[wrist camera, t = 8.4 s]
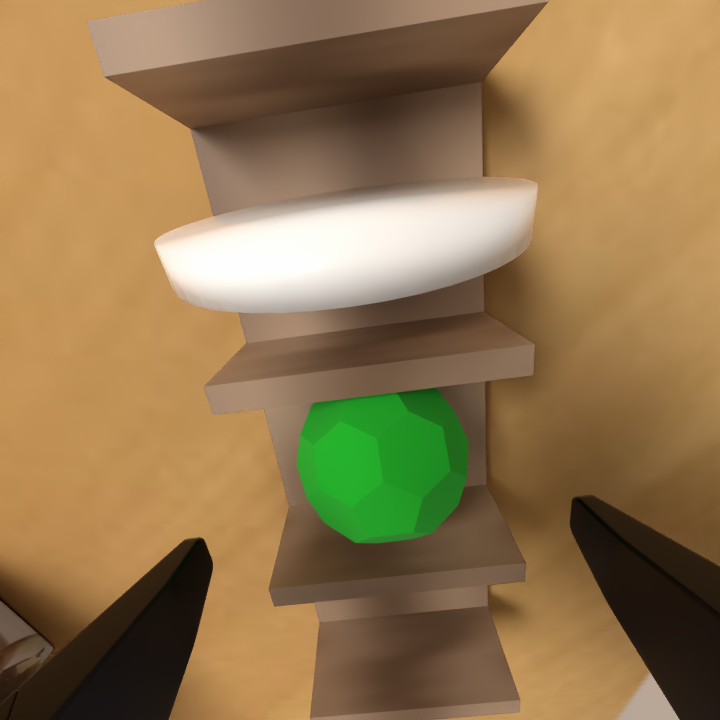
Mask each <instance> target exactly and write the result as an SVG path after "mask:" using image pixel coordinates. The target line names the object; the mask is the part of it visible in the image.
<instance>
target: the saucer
mask: <svg viewBox="0 0 720 720" xmlns="http://www.w3.org/2000/svg"><path fill="white" fill-rule="evenodd" d="M537 192H538V184H537V183H536V182H534V181H531V180H528V179H522V178H514V177H459V178H443V179H430V180H419V181H409V182H399V183H391V184H382V185H374V186H367V187H360V188H353V189H346V190H339V191H333V192H327V193H321V194H315V195H309V196H303V197H298V198H292V199H287V200H282V201H277V202H272V203H267V204H263V205H258V206H253V207H249V208H245V209H240V210H236V211H232V212H228V213H224V214H220V215H217V216H213V217H209V218H206V219H203V220H199V221H196V222H193V223H190V224H187V225H184V226H181V227H179V228H176V229H174V230H171V231H169V232H167V233H165V234H163V235H162V236H160V237H159V238H158V239H157V240H156V241H155V248H156V250H157V252H158V255H159V257H160V260H161V262H162V264H163V267H164V269H165V272H166V274H167V276H168V279H169V281H170V283H171V286H172V288H173V291H174V293H175V294H176V295H177V296H178V297H179V299H181V300H183V301H185V302H187V303H189V304H191V305H195V306H198V307H201V308H205V309H212V310H218V311H224V312H239V313H291V312H308V311H319V310H328V309H337V308H346V307H353V306H360V305H366V304H372V303H378V302H385V301H389V300H394V299H399V298H404V297H408V296H413V295H418V294H422V293H426V292H429V291H433V290H437V289H441V288H444V287H448V286H452V285H455V284H458V283H461V282H463V281H466V280H469V279H472V278H475V277H478V276H481V275H483V274H485V273H488V272H490V271H492V270H495V269H497V268H499V267H501V266H503V265H505V264H506V263H508V262H510V261H512V260H514V259H515V258H517V257H518V256H519V255H520V254H522V253H523V252H524V251H525V250H526V249H527V248H528V247H529V245H530V244H531V242H532V236H533V227H534V218H535V209H536V200H537Z"/></svg>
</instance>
